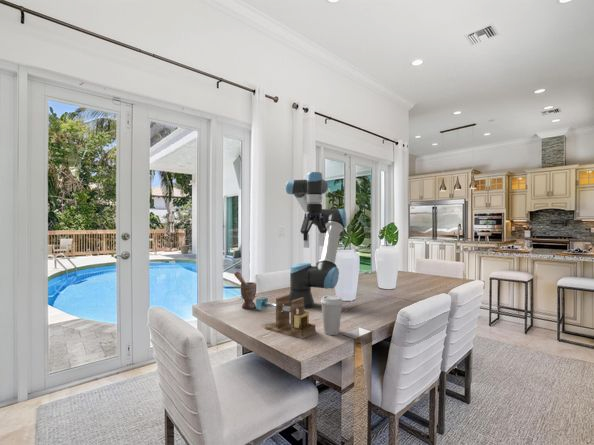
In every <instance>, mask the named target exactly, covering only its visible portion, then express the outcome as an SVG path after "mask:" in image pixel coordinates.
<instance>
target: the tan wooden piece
mask: <svg viewBox="0 0 594 445" xmlns="http://www.w3.org/2000/svg"><path fill="white" fill-rule="evenodd" d="M302 317H303V326H301V318H302ZM309 323H310V311H307V310H306V311H305V310H304V311H303V312H300V313H299V312H298V313H296V315H294V329H298V330H304V329H306V328H308V327H309Z"/></svg>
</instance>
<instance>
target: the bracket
mask: <svg viewBox="0 0 594 445" xmlns="http://www.w3.org/2000/svg"><path fill="white" fill-rule="evenodd" d="M275 304H276V309H275V322H272V323H270V324H268V325H265V326H264V329H266V330H269V331H272V332H277V333H279V334H283V335H286V336H289V337H290V336H291V337H295V338H297V339H301V340H303V339H304V338H306V337H309V336H311V335H312V334H314V333H316V332H317V330H316V324H314V323H310V322H309V327H308V328H306V329H304V330H298V329H294V315H296V314H297V309H298V313H300V312H303V311H305V308H304V298H303V297H302V298H299V299H296V300H293V301H291V313H290V312H286V311H282V305H285V306H290V295H289V294H285V295H283V296H282V295H281V296H279V297H278V296H277V297H276V299H275ZM298 307H299V308H298ZM301 326H303V317H302V318H301Z"/></svg>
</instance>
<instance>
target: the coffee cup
mask: <svg viewBox="0 0 594 445" xmlns="http://www.w3.org/2000/svg"><path fill="white" fill-rule="evenodd" d="M320 303H321V314H322V326H323V333H324V334H325V335H328V336H337V335H339V334H340V328H341V316H342V306H343V303H344V301H343V299H342V297H341V296H339V295H336V294H335V295H334V294H327V295H323V296H322V297H321V299H320Z"/></svg>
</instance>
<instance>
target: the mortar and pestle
mask: <svg viewBox="0 0 594 445" xmlns="http://www.w3.org/2000/svg"><path fill="white" fill-rule="evenodd" d="M234 277H235V278H236V279H237V280H238V281H239V282H240V295H241V298H242V300H243V301H244V302H243V303H242V306H241V309H243V310H252V309H254V308H255V309H256V302H255V303H254V300H255V298H256V294H257V282H255V281H254V282H252V281H250V282H249V281H245V280H244V278H243V276H242V274H241V273H240V272H239V271H235V272H234Z"/></svg>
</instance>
